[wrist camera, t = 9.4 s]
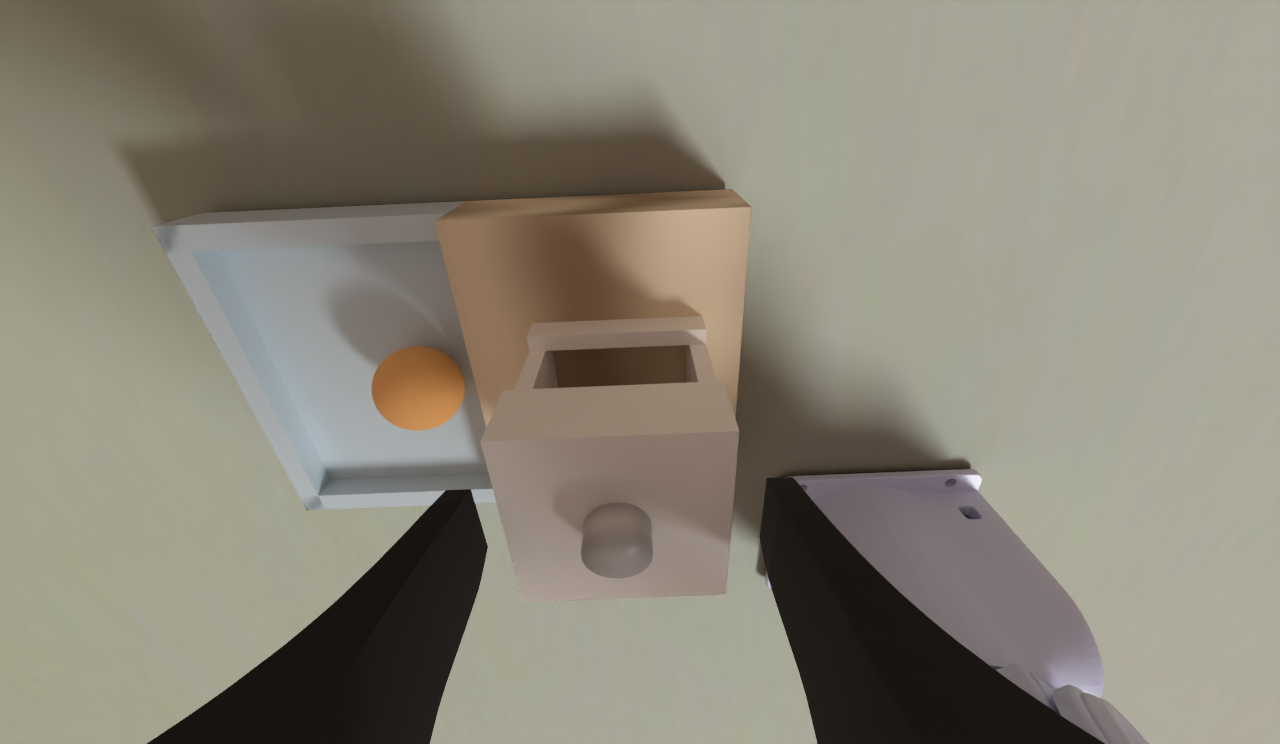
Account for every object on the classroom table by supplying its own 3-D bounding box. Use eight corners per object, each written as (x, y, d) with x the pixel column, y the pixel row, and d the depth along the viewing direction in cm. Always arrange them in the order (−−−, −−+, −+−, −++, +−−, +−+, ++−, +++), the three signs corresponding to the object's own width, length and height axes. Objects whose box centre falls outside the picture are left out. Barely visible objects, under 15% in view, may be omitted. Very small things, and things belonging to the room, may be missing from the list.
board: (732, 189, 16) (751, 207, 13) (717, 462, 22) (728, 511, 19) (466, 201, 16) (434, 220, 13) (524, 470, 22) (509, 519, 19)
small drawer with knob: (702, 315, 15) (747, 455, 9) (698, 448, 18) (731, 623, 12) (532, 323, 15) (468, 467, 9) (554, 454, 18) (516, 631, 12)
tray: (466, 201, 16) (446, 213, 14) (524, 470, 22) (515, 501, 20) (202, 213, 16) (151, 226, 14) (332, 477, 22) (306, 510, 20)
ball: (405, 325, 18) (470, 337, 17) (428, 390, 19) (489, 404, 18) (336, 368, 15) (408, 384, 14) (369, 437, 17) (436, 456, 16)
